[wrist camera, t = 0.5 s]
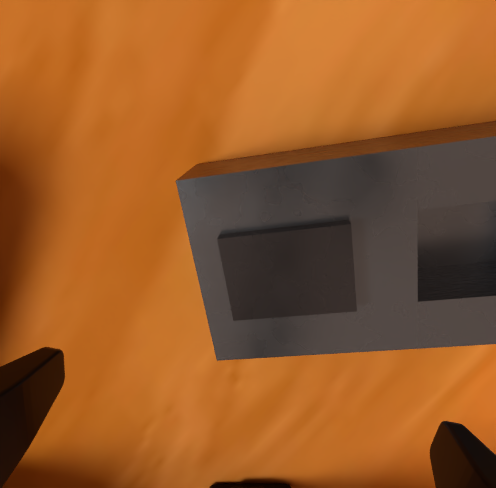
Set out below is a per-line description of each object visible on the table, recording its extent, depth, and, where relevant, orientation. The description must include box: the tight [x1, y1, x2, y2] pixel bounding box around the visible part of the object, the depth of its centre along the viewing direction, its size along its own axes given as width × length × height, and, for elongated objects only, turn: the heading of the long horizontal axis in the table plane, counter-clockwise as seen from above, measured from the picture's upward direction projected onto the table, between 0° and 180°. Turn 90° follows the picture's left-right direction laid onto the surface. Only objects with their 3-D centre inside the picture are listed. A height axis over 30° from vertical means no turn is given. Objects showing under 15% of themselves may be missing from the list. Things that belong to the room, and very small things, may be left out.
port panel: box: [176, 121, 496, 360], centre depth 19 cm, size 10×18×5 cm, turn 99°
